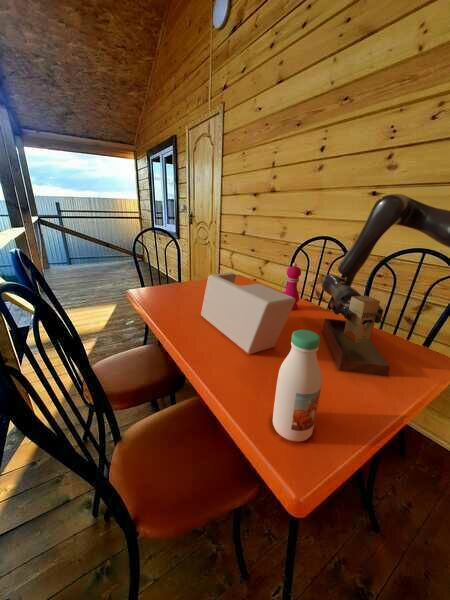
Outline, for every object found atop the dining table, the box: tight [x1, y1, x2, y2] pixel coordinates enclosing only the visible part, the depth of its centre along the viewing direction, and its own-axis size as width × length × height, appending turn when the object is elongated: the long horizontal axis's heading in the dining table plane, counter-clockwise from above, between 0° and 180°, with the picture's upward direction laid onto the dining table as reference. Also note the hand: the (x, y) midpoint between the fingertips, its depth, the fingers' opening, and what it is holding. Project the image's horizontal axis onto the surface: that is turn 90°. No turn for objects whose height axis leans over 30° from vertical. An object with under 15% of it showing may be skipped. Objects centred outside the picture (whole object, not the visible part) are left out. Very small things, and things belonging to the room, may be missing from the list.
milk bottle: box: [272, 329, 323, 442], centre depth 46 cm, size 8×8×20 cm
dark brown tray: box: [322, 318, 391, 377], centre depth 78 cm, size 12×24×5 cm, turn 170°
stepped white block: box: [200, 272, 295, 355], centre depth 84 cm, size 30×10×30 cm, turn 30°
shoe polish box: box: [343, 294, 381, 343], centre depth 72 cm, size 5×5×12 cm
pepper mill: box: [282, 262, 302, 311], centre depth 109 cm, size 7×7×20 cm
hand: (364, 318), depth 69 cm, fingers closed on shoe polish box, 6 cm apart
